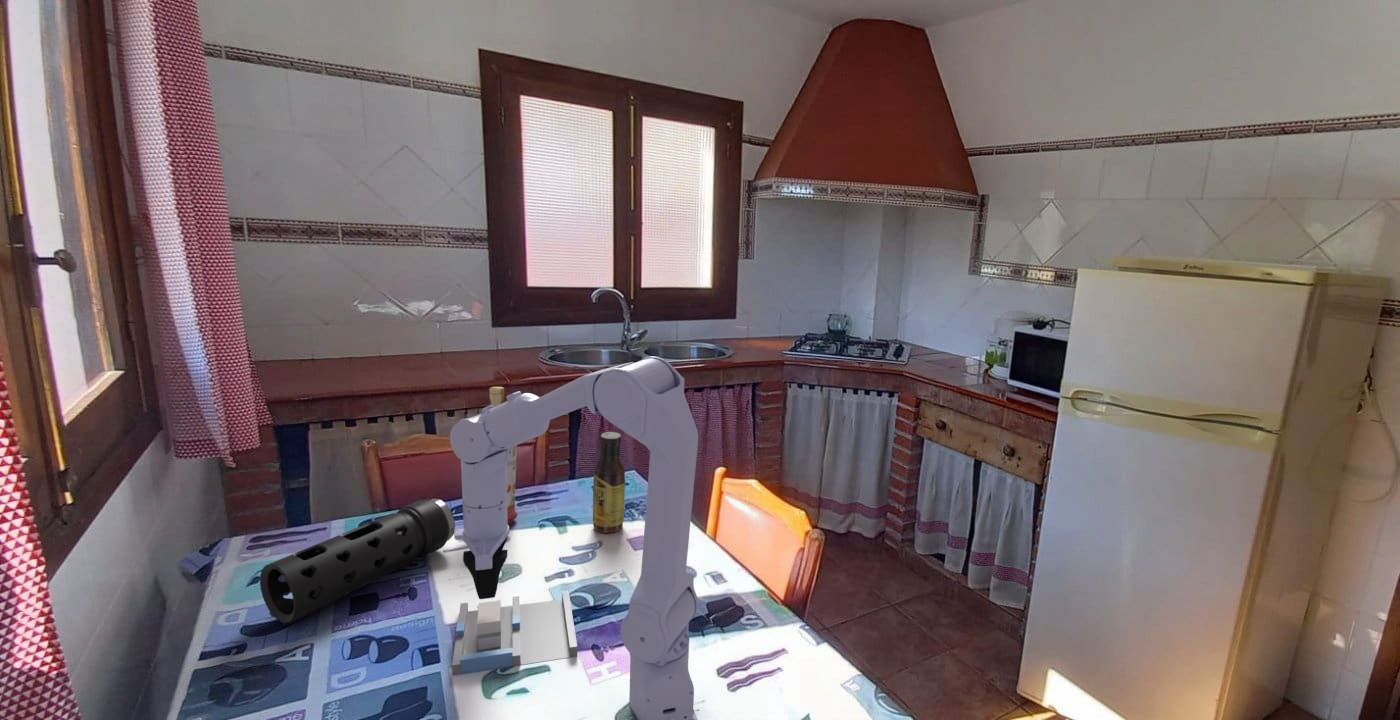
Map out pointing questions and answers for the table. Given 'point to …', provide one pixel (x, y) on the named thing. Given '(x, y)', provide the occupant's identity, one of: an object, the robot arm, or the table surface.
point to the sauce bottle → (609, 486)
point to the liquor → (496, 400)
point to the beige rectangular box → (489, 625)
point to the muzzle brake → (354, 559)
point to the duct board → (517, 636)
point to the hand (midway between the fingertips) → (487, 590)
